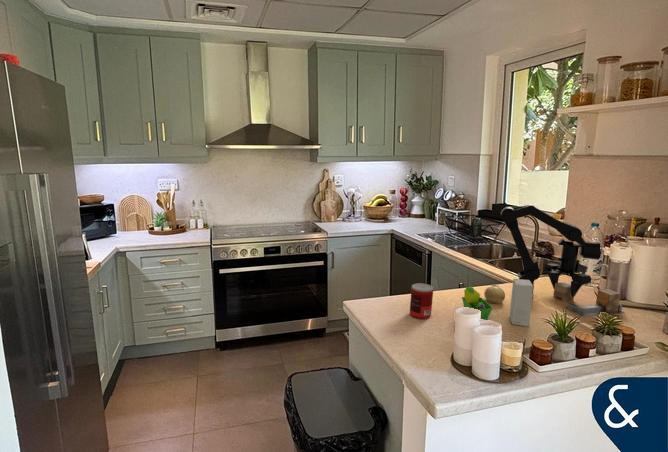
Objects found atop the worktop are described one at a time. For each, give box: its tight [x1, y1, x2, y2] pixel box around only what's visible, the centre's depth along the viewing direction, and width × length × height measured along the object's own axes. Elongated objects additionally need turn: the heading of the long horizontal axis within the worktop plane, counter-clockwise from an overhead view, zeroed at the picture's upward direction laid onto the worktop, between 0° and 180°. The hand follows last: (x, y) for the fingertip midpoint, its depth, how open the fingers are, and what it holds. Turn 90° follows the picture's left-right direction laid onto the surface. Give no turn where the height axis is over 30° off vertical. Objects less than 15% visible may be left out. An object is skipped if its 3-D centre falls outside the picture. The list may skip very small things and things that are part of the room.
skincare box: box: [509, 278, 534, 328], centre depth 145 cm, size 8×6×15 cm
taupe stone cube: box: [595, 288, 622, 312], centre depth 158 cm, size 6×5×7 cm
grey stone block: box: [553, 281, 575, 302], centre depth 169 cm, size 6×5×7 cm
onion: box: [483, 283, 506, 304], centre depth 165 cm, size 8×8×7 cm
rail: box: [564, 302, 626, 318], centre depth 157 cm, size 20×9×3 cm, turn 106°
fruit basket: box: [461, 286, 494, 321], centre depth 150 cm, size 11×9×11 cm
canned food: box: [409, 282, 434, 320], centre depth 148 cm, size 8×8×11 cm
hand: (563, 292), depth 169 cm, fingers open, 9 cm apart
